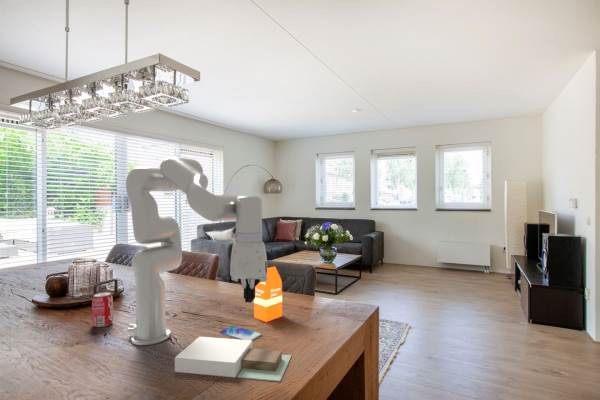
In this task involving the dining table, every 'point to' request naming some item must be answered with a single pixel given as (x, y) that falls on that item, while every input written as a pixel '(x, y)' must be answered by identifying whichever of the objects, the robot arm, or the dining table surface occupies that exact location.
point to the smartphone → (240, 333)
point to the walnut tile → (261, 359)
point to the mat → (266, 372)
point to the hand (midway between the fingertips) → (249, 300)
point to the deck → (213, 356)
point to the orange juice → (269, 297)
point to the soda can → (102, 309)
